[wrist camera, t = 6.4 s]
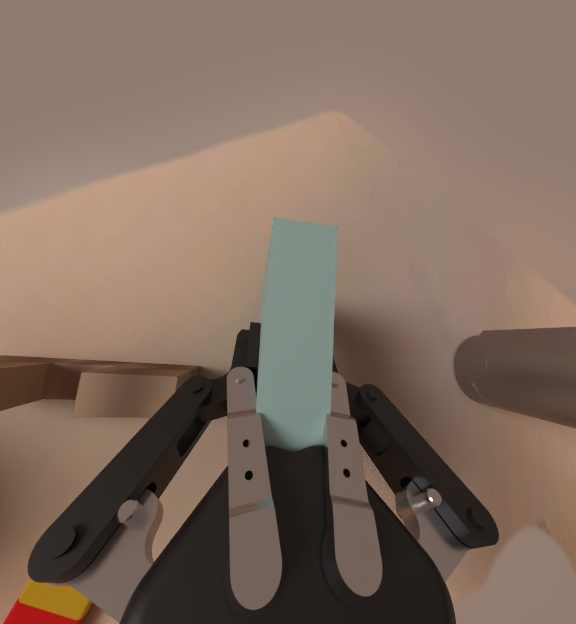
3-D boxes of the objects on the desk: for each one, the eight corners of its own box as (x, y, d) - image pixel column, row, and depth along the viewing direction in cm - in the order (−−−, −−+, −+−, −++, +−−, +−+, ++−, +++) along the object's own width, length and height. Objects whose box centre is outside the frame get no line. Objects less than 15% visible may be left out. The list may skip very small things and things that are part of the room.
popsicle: (9, 622, 18) (-18, 654, 16) (113, 447, 21) (100, 457, 19) (72, 641, 19) (53, 674, 17) (165, 467, 22) (157, 479, 20)
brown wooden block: (199, 366, 23) (177, 376, 16) (195, 394, 23) (171, 417, 16) (2, 355, 20) (-127, 363, 13) (-8, 388, 20) (-145, 413, 13)
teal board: (262, 288, 22) (273, 216, 9) (290, 291, 22) (338, 227, 10) (248, 430, 20) (240, 590, 7) (280, 431, 20) (323, 582, 8)
